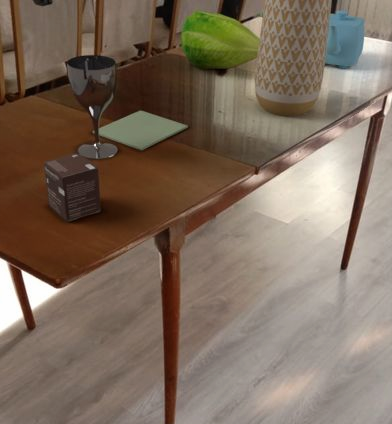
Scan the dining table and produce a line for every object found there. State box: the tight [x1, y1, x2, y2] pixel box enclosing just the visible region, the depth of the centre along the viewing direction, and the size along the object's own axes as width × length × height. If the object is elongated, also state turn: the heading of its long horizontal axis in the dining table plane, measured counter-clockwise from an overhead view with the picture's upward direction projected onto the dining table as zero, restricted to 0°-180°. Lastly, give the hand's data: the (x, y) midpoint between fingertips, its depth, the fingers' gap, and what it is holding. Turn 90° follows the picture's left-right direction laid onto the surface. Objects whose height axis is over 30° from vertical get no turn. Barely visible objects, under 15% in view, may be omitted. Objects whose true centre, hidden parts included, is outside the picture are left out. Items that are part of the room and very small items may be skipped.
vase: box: [254, 0, 333, 117], centre depth 122 cm, size 14×14×31 cm
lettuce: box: [180, 9, 260, 70], centre depth 145 cm, size 14×20×12 cm
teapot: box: [325, 9, 365, 69], centre depth 151 cm, size 12×18×12 cm
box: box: [42, 152, 102, 223], centre depth 94 cm, size 6×6×7 cm
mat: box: [92, 110, 189, 151], centre depth 120 cm, size 14×12×1 cm
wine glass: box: [66, 54, 119, 160], centre depth 108 cm, size 8×8×15 cm
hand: (43, 4), depth 91 cm, fingers closed
